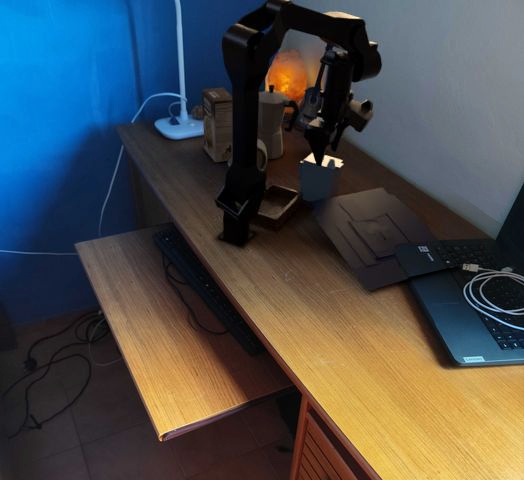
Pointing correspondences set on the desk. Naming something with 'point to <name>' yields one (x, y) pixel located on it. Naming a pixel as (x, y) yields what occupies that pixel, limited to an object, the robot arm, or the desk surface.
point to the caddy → (277, 206)
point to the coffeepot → (274, 120)
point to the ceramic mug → (258, 156)
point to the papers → (370, 232)
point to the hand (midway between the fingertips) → (326, 158)
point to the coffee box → (217, 123)
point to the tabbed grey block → (319, 177)
